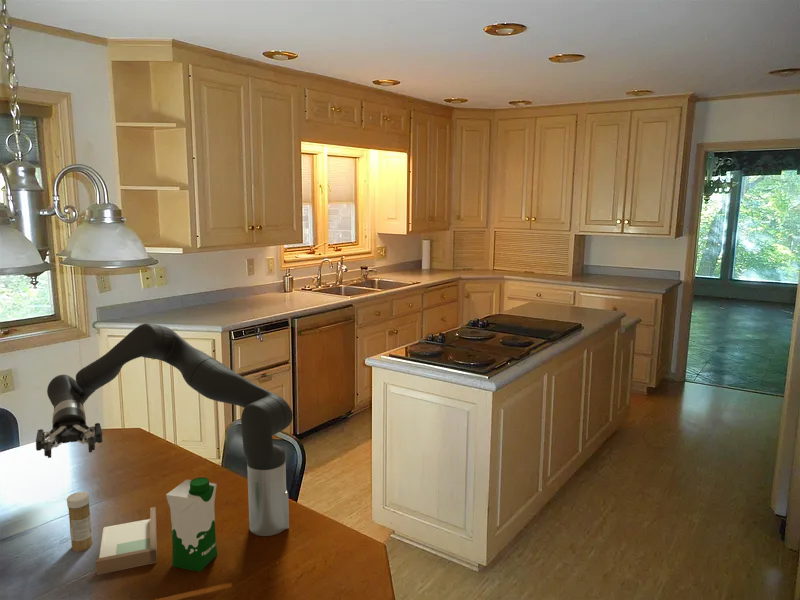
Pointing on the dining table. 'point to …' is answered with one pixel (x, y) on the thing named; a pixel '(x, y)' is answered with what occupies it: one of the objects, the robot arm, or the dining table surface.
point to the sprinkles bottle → (80, 521)
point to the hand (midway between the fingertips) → (70, 451)
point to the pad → (133, 546)
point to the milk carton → (193, 524)
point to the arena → (122, 535)
